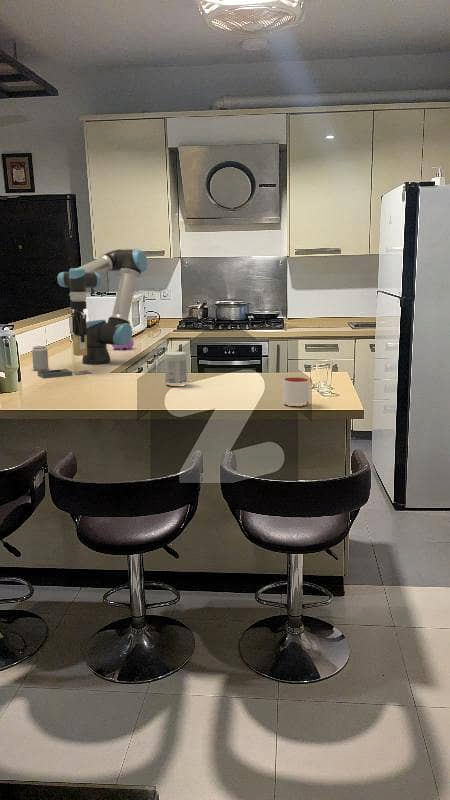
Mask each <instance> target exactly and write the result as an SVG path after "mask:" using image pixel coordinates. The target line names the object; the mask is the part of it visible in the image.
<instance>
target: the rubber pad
mask: <svg viewBox="0 0 450 800" xmlns="http://www.w3.org/2000/svg"><path fill="white" fill-rule="evenodd" d="M73 374H74V375H76V376H80V375H89V374H93V372H91V371H89V370H78V371H76V370H75V371H72V375H73Z"/></svg>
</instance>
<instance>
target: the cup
mask: <svg viewBox="0 0 450 800" xmlns="http://www.w3.org/2000/svg"><path fill="white" fill-rule="evenodd" d="M309 397H310V380H309V379H308V378H305V377H296V376H295V377H285V378H283V380H282V402H283V401H285V402H289V403H304V402H307V401H308V400H309ZM308 402H309V401H308Z"/></svg>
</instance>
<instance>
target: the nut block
mask: <svg viewBox="0 0 450 800" xmlns="http://www.w3.org/2000/svg"><path fill="white" fill-rule="evenodd" d="M78 335H80V334H74V333H73V334H72V341H73V342H72V343H73V355H74V356H77V357H83V355H87V335H85V349H80V348H79V336H78Z"/></svg>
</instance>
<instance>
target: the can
mask: <svg viewBox="0 0 450 800" xmlns="http://www.w3.org/2000/svg"><path fill="white" fill-rule="evenodd" d="M31 354H32V366H33V367H32V369H33V370H35V371H37V372H38V371H47V370H48V369H49V357H48V355H49V354H48V349H47V346H44V345H36V346H35V345H34V346H33V347H32V350H31Z"/></svg>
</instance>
